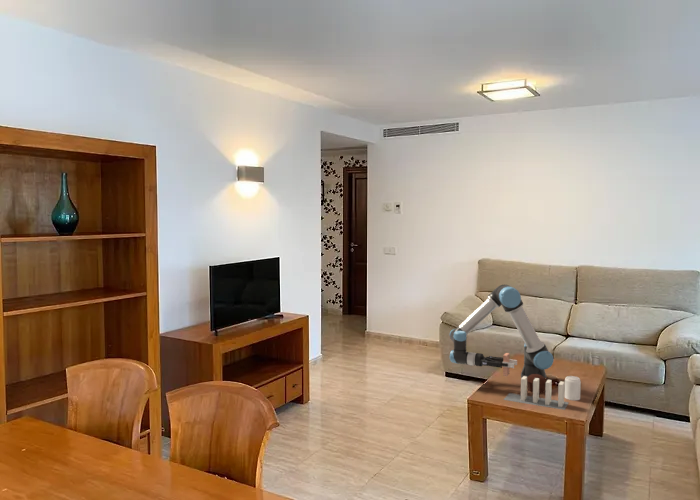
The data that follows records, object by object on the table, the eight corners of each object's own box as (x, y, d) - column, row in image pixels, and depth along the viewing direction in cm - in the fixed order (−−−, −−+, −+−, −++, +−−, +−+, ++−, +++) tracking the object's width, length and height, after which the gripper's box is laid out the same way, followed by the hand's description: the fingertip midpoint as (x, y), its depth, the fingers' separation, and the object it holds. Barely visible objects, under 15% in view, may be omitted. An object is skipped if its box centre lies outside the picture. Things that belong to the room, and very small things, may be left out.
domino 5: (558, 406, 292) (558, 384, 291) (559, 403, 297) (560, 381, 296) (561, 407, 291) (562, 384, 290) (563, 403, 296) (564, 381, 295)
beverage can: (569, 395, 311) (569, 374, 310) (583, 399, 304) (583, 378, 303) (561, 398, 306) (562, 377, 305) (575, 402, 299) (575, 381, 298)
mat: (509, 393, 314) (509, 392, 314) (568, 403, 298) (568, 402, 298) (503, 400, 303) (503, 399, 303) (564, 410, 287) (564, 409, 287)
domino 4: (545, 404, 295) (545, 382, 294) (547, 401, 300) (547, 379, 299) (549, 405, 294) (549, 383, 293) (551, 401, 299) (551, 380, 298)
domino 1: (503, 375, 315) (503, 355, 314) (505, 373, 320) (506, 352, 319) (506, 376, 314) (506, 355, 313) (509, 373, 319) (509, 353, 318)
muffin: (548, 390, 319) (549, 373, 319) (544, 396, 310) (545, 378, 309) (527, 387, 325) (528, 370, 325) (523, 392, 316) (523, 375, 315)
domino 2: (520, 400, 302) (520, 378, 301) (523, 397, 307) (523, 376, 306) (524, 400, 300) (524, 379, 300) (526, 397, 306) (527, 376, 305)
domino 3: (532, 402, 298) (533, 380, 297) (535, 399, 303) (535, 377, 303) (536, 402, 297) (536, 381, 296) (538, 399, 302) (539, 378, 302)
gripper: (480, 361, 334) (519, 366, 322) (470, 369, 317) (511, 374, 306) (480, 349, 333) (519, 353, 322) (470, 356, 317) (511, 361, 305)
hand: (515, 364), depth 314 cm, fingers closed on domino 1, 6 cm apart
